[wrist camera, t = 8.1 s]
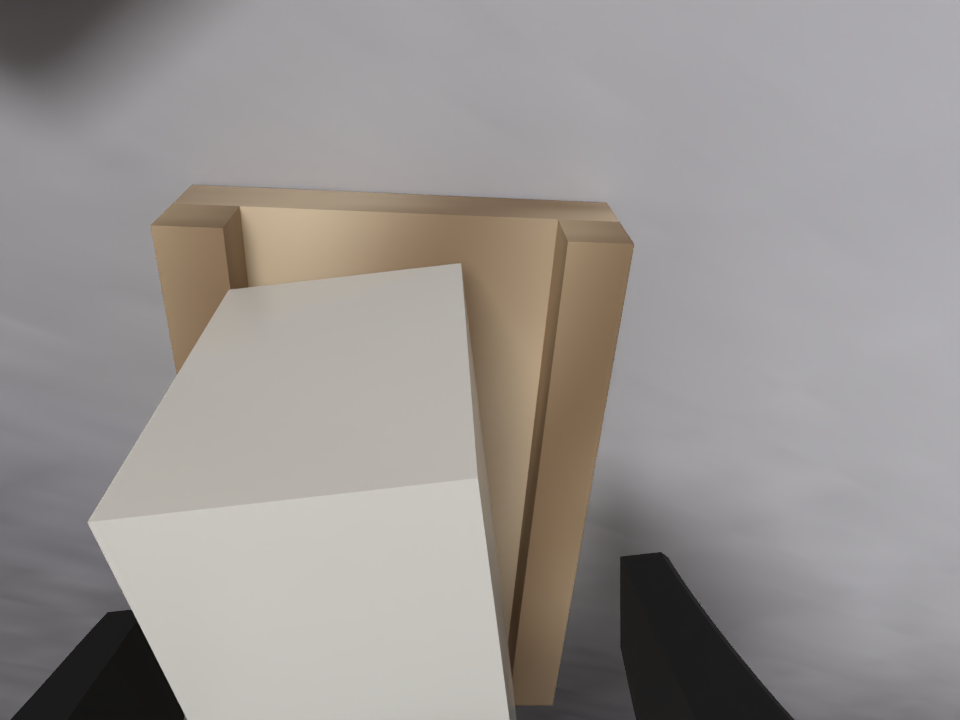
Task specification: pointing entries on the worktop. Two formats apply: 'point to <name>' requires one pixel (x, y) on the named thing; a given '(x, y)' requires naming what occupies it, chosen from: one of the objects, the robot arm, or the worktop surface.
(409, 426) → the white rectangular block
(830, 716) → the worktop surface
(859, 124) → the worktop surface
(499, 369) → the wooden base plate
